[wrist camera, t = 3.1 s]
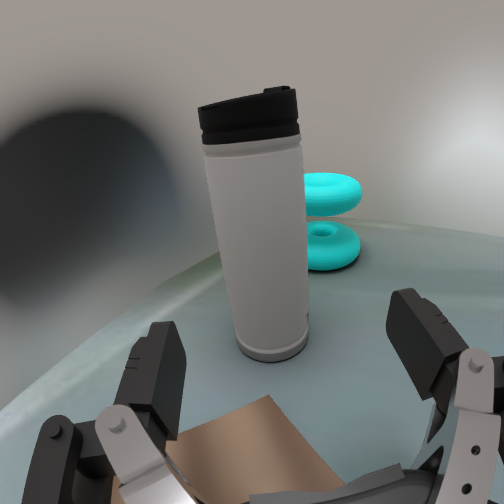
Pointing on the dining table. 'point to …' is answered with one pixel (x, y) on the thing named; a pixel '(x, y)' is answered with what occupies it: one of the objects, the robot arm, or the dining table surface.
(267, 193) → the travel mug
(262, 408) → the walnut board
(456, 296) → the dining table surface
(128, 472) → the robot arm
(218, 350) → the dining table surface
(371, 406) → the dining table surface
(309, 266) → the cyan spool
